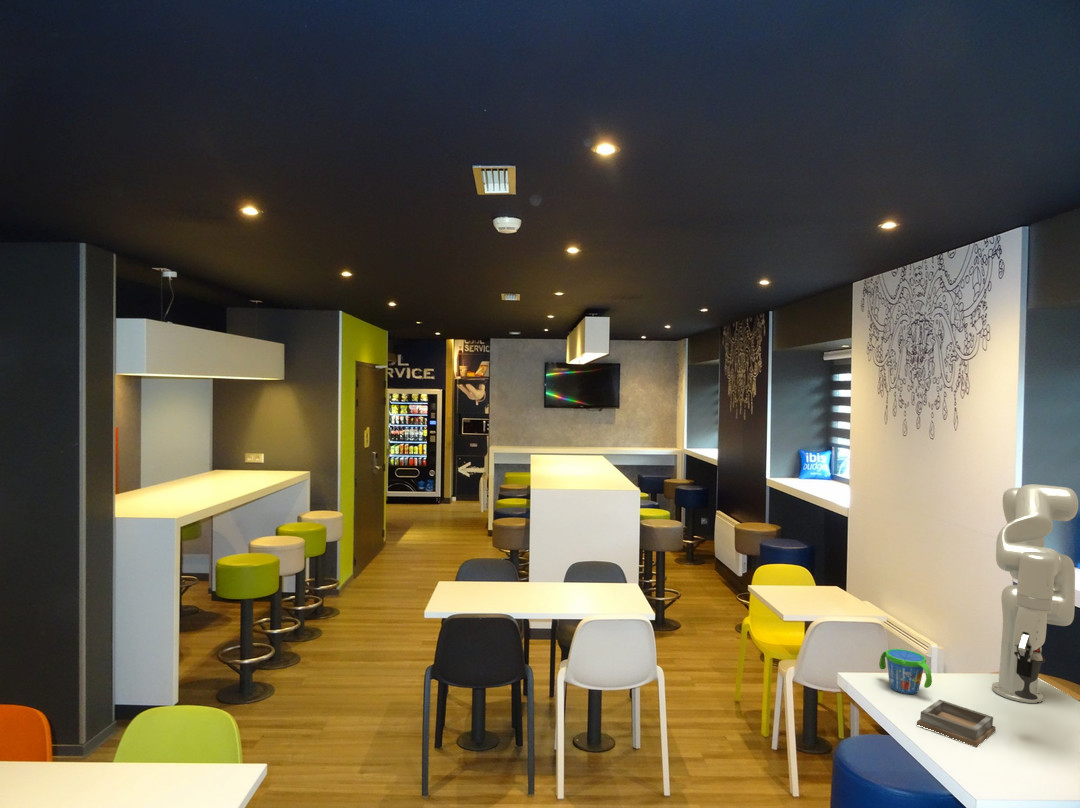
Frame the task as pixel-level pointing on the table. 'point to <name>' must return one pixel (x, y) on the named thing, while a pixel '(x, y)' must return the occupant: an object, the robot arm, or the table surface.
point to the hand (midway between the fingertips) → (1028, 671)
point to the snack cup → (905, 670)
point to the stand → (957, 722)
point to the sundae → (1037, 662)
